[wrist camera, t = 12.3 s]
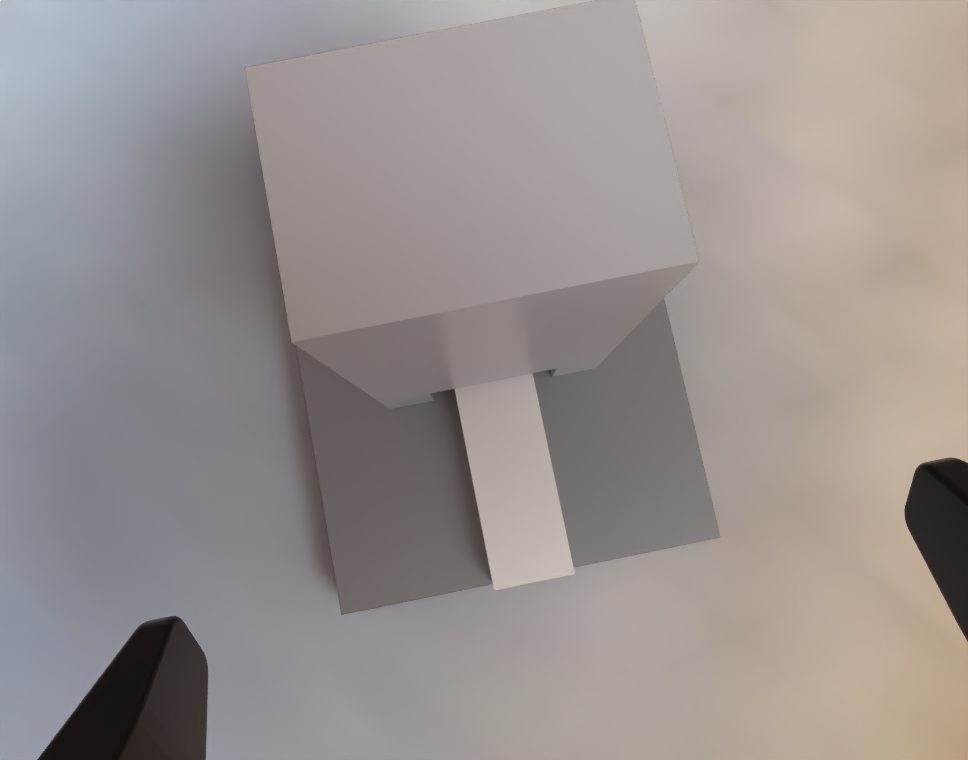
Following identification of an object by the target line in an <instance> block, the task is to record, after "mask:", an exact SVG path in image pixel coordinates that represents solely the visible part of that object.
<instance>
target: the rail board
mask: <svg viewBox="0 0 968 760" xmlns="http://www.w3.org/2000/svg"><path fill="white" fill-rule="evenodd" d="M296 350H297V356H298V362H299V368H300V373H301V379H302V385H303V391H304V397H305V403H306V409H307V415H308V421H309V426H310V432H311V438H312V444H313V450H314V456H315V462H316V468H317V474H318V479H319V485H320V491H321V497H322V503H323V509H324V515H325V521H326V527H327V532H328V538H329V544H330V550H331V556H332V562H333V568H334V574H335V579H336V585H337V591H338V597H339V603H340V609H341V615H343V614H348V613H353V612H358V611H363V610H368V609H373V608H377V607H382V606H387V605H392V604H397V603H402V602H407V601H412V600H417V599H421V598H426V597H431V596H436V595H441V594H446V593H451V592H456V591H461V590H466V589H470V588H475V587H480V586H485V585H490V584H493V587H494V591H495V590H500V589H505V588H510V587H515V586H519V585H524V584H529V583H534V582H539V581H544V580H549V579H554V578H559V577H563V576H568V575H573V574H575V572H574V567H578V566H583V565H588V564H593V563H598V562H602V561H607V560H612V559H617V558H622V557H627V556H632V555H637V554H642V553H647V552H651V551H656V550H661V549H666V548H671V547H676V546H681V545H686V544H691V543H695V542H700V541H705V540H710V539H715V538H720V533H719V529H718V525H717V521H716V516H715V512H714V508H713V504H712V500H711V495H710V491H709V487H708V483H707V478H706V474H705V470H704V466H703V462H702V457H701V453H700V449H699V445H698V440H697V436H696V432H695V428H694V424H693V419H692V415H691V411H690V407H689V402H688V398H687V394H686V390H685V386H684V381H683V377H682V373H681V369H680V364H679V360H678V356H677V352H676V347H675V343H674V339H673V335H672V331H671V326H670V322H669V318H668V314H667V309H666V305H665V301H664V298H663V299H662V300H661V301H660V302H659V303H658V304H657V305H656V307H655V308H654V309H653V310H652V311H651V312H650V313H649V314H648V315H647V316H646V317H645V318H644V319H643V320H642V321H641V322H640V323H639V324H638V325H637V326H636V327H635V328H634V329H633V330H632V331H631V332H630V333H629V334H628V335H627V336H626V337H625V338H624V340H623V341H622V342H621V343H620V344H619V345H618V346H617V347H616V348H615V349H614V350H613V351H612V352H611V353H610V354H609V355H608V356H607V357H606V358H605V359H604V360H603V361H602V362H601V363H600V364H599V365H598V366H597V367H596V368H594V369H589V370H584V371H579V372H574V373H569V374H564V375H559V376H554V377H552V375H551V370H546V371H541V372H536V373H531V374H526V375H521V376H516V377H511V378H506V379H501V380H496V381H491V382H486V383H481V384H476V385H471V386H466V387H461V388H456V389H451V390H446V391H441V392H436V393H433V396H434V401H429V402H424V403H419V404H414V405H409V406H404V407H399V408H394V409H389V408H388V407H386V406H385V405H383V404H382V403H380V402H379V401H377V400H376V399H374V398H373V397H371V396H370V395H368V394H367V393H366V392H364V391H363V390H361V389H360V388H358V387H357V386H355V385H354V384H352V383H351V382H349V381H348V380H346V379H345V378H343V377H342V376H341V375H339V374H338V373H336V372H335V371H333V370H332V369H330V368H329V367H327V366H326V365H324V364H323V363H321V362H320V361H318V360H317V359H316V358H314V357H313V356H311V355H310V354H308V353H307V352H305V351H304V350H302V349H301V348H299V347H298V346H296Z"/></svg>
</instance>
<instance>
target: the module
mask: <svg viewBox="0 0 968 760" xmlns="http://www.w3.org/2000/svg"><path fill="white" fill-rule="evenodd" d="M245 72H246V78H247V83H248V89H249V95H250V101H251V107H252V113H253V119H254V125H255V131H256V137H257V142H258V148H259V154H260V160H261V166H262V172H263V178H264V184H265V190H266V195H267V201H268V207H269V213H270V219H271V225H272V231H273V237H274V243H275V248H276V254H277V260H278V266H279V272H280V278H281V284H282V290H283V296H284V301H285V307H286V313H287V319H288V325H289V331H290V337H291V342H292V343H293V344H295V345H296V346H298V347H299V348H301V349H302V350H304V351H305V352H307V353H308V354H310V355H311V356H313V357H314V358H316V359H317V360H318V361H320V362H321V363H323V364H324V365H326V366H327V367H329V368H330V369H332V370H333V371H335V372H336V373H338V374H339V375H341V376H342V377H343V378H345V379H346V380H348V381H349V382H351V383H352V384H354V385H355V386H357V387H358V388H360V389H361V390H363V391H364V392H366V393H367V394H368V395H370V396H371V397H373V398H374V399H376V400H377V401H379V402H380V403H382V404H383V405H385V406H386V407H388V408H389V409H394V408H399V407H404V406H409V405H414V404H419V403H424V402H429V401H434V396H433V393H436V392H441V391H446V390H451V389H456V388H461V387H466V386H471V385H476V384H481V383H486V382H491V381H496V380H501V379H506V378H511V377H516V376H521V375H526V374H531V373H536V372H541V371H546V370H551V375H552V377H554V376H559V375H564V374H569V373H574V372H579V371H584V370H589V369H594V368H596V367H597V366H598V365H599V364H600V363H601V362H602V361H603V360H604V359H605V358H606V357H607V356H608V355H609V354H610V353H611V352H612V351H613V350H614V349H615V348H616V347H617V346H618V345H619V344H620V343H621V342H622V341H623V340H624V338H625V337H626V336H627V335H628V334H629V333H630V332H631V331H632V330H633V329H634V328H635V327H636V326H637V325H638V324H639V323H640V322H641V321H642V320H643V319H644V318H645V317H646V316H647V315H648V314H649V313H650V312H651V311H652V310H653V309H654V308H655V307H656V305H657V304H658V303H659V302H660V301H661V300H662V299H663V298H664V297H665V296H666V295H667V294H668V293H669V292H670V291H671V290H672V289H673V288H674V287H675V286H676V285H677V284H678V283H679V282H680V281H681V280H682V279H683V278H684V277H685V276H686V275H687V274H688V272H689V271H690V270H691V269H692V268H693V267H694V266H695V265H696V264H697V263H698V262H699V258H698V254H697V249H696V245H695V241H694V237H693V233H692V229H691V225H690V221H689V217H688V213H687V209H686V205H685V201H684V196H683V192H682V188H681V184H680V180H679V176H678V172H677V168H676V164H675V160H674V156H673V152H672V148H671V143H670V139H669V135H668V131H667V127H666V123H665V119H664V115H663V111H662V107H661V103H660V99H659V95H658V90H657V86H656V82H655V78H654V74H653V70H652V66H651V62H650V58H649V54H648V50H647V46H646V42H645V37H644V33H643V29H642V25H641V21H640V17H639V13H638V9H637V5H636V1H635V0H595V1H590V2H585V3H579V4H574V5H569V6H564V7H559V8H553V9H548V10H543V11H538V12H532V13H527V14H522V15H517V16H512V17H506V18H501V19H496V20H491V21H485V22H480V23H475V24H470V25H465V26H459V27H454V28H449V29H444V30H438V31H433V32H428V33H423V34H418V35H412V36H407V37H402V38H397V39H391V40H386V41H381V42H376V43H371V44H365V45H360V46H355V47H350V48H344V49H339V50H334V51H329V52H324V53H318V54H313V55H308V56H303V57H298V58H292V59H287V60H282V61H277V62H271V63H266V64H261V65H256V66H251V67H245Z"/></svg>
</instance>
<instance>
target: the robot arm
mask: <svg viewBox="0 0 968 760" xmlns="http://www.w3.org/2000/svg"><path fill="white" fill-rule="evenodd" d="M905 520H906V524H907V527H908V529H909V531H910V533H911V535H912V537H913V539H914V541H915V543H916V545H917V547H918V548H919V550H920V552H921V554H922V556H923V558H924V560H925V562H926V564H927V566H928V568H929V570H930V572H931V573H932V575H933V577H934V579H935V581H936V583H937V585H938V587H939V589H940V591H941V593H942V595H943V597H944V598H945V600H946V602H947V604H948V606H949V608H950V610H951V612H952V614H953V616H954V618H955V620H956V622H957V623H958V625H959V627H960V629H961V631H962V632H963V634H964V636H965V638H966V639H967V641H968V463H967V462H965V461H962V460H960V459H956V458H944V459H940V460H935V461H930V462H925V463H922V464H920V465H919V466H918V467H917V468H916V470H915V473H914V477H913V480H912V484H911V487H910V491H909V494H908V498H907V502H906V505H905ZM207 696H208V665H207V660H206V657H205V654H204V652H203V651H202V649H201V647H200V646H199V644H198V643H197V641H196V640H195V638H194V637H193V635H192V634H191V632H190V631H189V629H188V628H187V626H186V625H185V623H184V622H183V621H182V619H180V618H178V617H176V616H170V617H165V618H160V619H155V620H151V621H147V622H145V623H143V624H141V625H140V626H139V627H138V628H137V629H136V630H135V632H134V633H133V634H132V636H131V637H130V638H129V640H128V641H127V642H126V644H125V645H124V646H123V647H122V649H121V650H120V651H119V653H118V654H117V655H116V657H115V658H114V659H113V661H112V662H111V663H110V665H109V666H108V667H107V669H106V670H105V671H104V672H103V674H102V675H101V676H100V678H99V679H98V680H97V682H96V683H95V684H94V686H93V687H92V688H91V690H90V691H89V692H88V694H87V695H86V696H85V697H84V699H83V700H82V701H81V703H80V704H79V705H78V707H77V708H76V709H75V711H74V712H73V713H72V715H71V716H70V717H69V719H68V720H67V721H66V722H65V724H64V725H63V726H62V728H61V729H60V730H59V732H58V733H57V734H56V736H55V737H54V738H53V740H52V741H51V742H50V744H49V745H48V746H47V747H46V749H45V750H44V751H43V753H42V754H41V755H40V757H39V758H38V759H37V760H206V733H207Z"/></svg>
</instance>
